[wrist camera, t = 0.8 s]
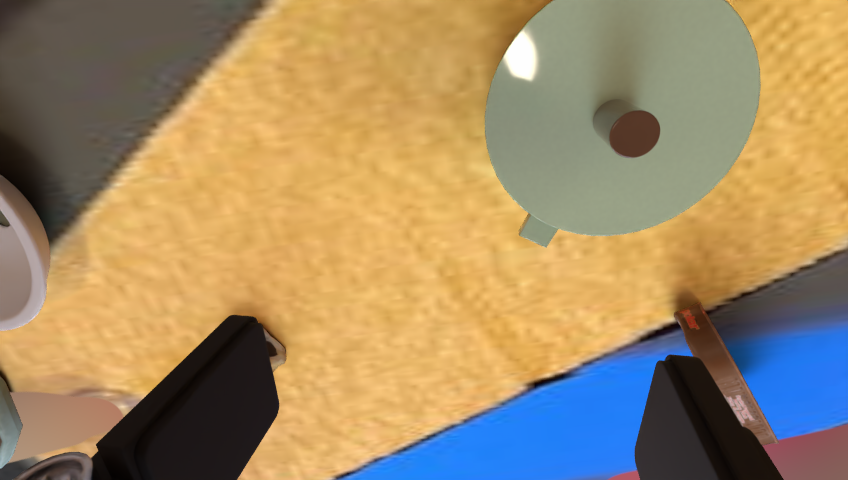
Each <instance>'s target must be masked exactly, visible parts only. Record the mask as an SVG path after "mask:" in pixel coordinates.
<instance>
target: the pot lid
mask: <svg viewBox="0 0 848 480" xmlns="http://www.w3.org/2000/svg"><path fill="white" fill-rule="evenodd" d="M759 96H760V67H759V62H758V57H757V52H756V49H755V46H754V43H753V40H752V38H751V35H750V33H749V31H748V29H747V27H746V26H745V24H744V22H743V21H742V19H741V17H740V16H739V15H738V14H737V12H736V11H735V10H734V9H733V8H732V6H731V5H730V4H729V3H728V2H727V1H726V0H553V1H551V2H550V3H548V4H547V5H546V6H544V7H543V8H542V9H541V10H540V11H539V12H538V13H537V14H535V15H534V16H533V17H532V18H531V19H530V20H529V21H528V22H527V23H526V24H525V26H524V27H523V28H522V29H521V30H520V31H519V32H518V33H517V35H516V36H515V38H514V39H513V41H512V42H511V43H510V45H509V46H508V48H507V49H506V51H505V53H504V55H503V57H502V59H501V60H500V62H499V64H498V66H497V69H496V72H495V74H494V77H493V79H492V82H491V86H490V90H489V93H488V97H487V103H486V111H485V136H486V143H487V149H488V153H489V156H490V160H491V163H492V166H493V168H494V170H495V173H496V175H497V177H498V179H499V180H500V182H501V184H502V185H503V187H504V188H505V190H506V191H507V192H508V193H509V195H510V196H511V197H512V198H513V200H514V201H515V202H516V203H518V204H519V205H520V206H521V207H522V208H523V209H524V210H525V211H527V212H528V213H529V214H531V215H532V216H534V217H535V218H537V219H538V220H540V221H542V222H544V223H546V224H548V225H550V226H553V227H555V228H558V229H561V230H564V231H568V232H572V233H576V234H583V235H591V236H611V235H621V234H627V233H632V232H637V231H641V230H644V229H647V228H650V227H653V226H656V225H658V224H660V223H663V222H665V221H667V220H669V219H672V218H673V217H675V216H677V215H679V214H680V213H682V212H684V211H685V210H687V209H688V208H690V207H691V206H693V205H694V204H695V203H697V202H698V201H699V200H701V199H702V198H703V197H704V196H705V195H706V194H708V193H709V192H710V191H711V190H712V189H713V188H714V187H715V186H716V185H717V184H718V183H719V182H720V181H721V179H722V178H723V177H724V176H725V175H726V174H727V173H728V171H729V170H730V168H731V167H732V166H733V164H734V163H735V161H736V160H737V158H738V157H739V155H740V153H741V151H742V149H743V148H744V146H745V144H746V142H747V140H748V137H749V135H750V132H751V130H752V127H753V125H754V121H755V117H756V113H757V109H758V105H759Z"/></svg>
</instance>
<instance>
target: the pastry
mask: <svg viewBox="0 0 848 480" xmlns="http://www.w3.org/2000/svg"><path fill="white" fill-rule="evenodd" d="M264 333H265V338H266V343H267V347H268V352H269V357H270V362H271V366H272V371H273V372H274V371H275V369H276V368H277V367H278V366H280V365H281V364H284V363H285V361H286V350H285V348H284V347H283V346H282V345H281V344H280V343H279V342H278V341H277V340H275V339H274V338H273V337H271V336H270V335H269V333H268V332H267V331H266V330H265V329H264Z"/></svg>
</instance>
